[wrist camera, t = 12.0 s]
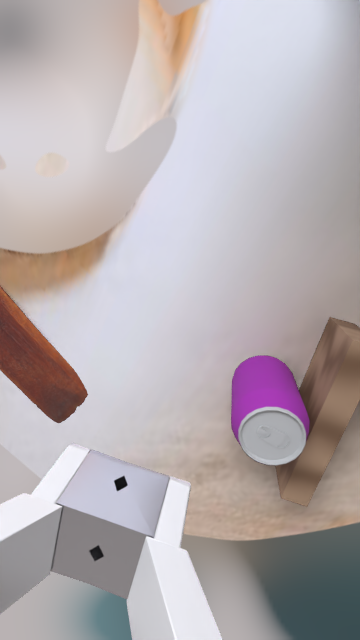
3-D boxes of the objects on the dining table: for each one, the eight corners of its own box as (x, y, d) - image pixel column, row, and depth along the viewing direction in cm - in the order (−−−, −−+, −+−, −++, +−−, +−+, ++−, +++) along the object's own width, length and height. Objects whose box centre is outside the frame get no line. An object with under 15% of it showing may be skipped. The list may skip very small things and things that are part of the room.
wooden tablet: (-68, 290, 47) (-78, 293, 45) (-28, 247, 44) (-38, 248, 42) (54, 426, 50) (48, 433, 49) (99, 395, 47) (95, 400, 46)
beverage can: (222, 390, 43) (217, 450, 32) (248, 342, 41) (253, 388, 29) (274, 415, 43) (288, 484, 32) (304, 368, 41) (331, 425, 29)
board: (329, 317, 38) (352, 339, 31) (355, 324, 38) (384, 349, 31) (273, 451, 45) (280, 498, 37) (294, 458, 44) (306, 506, 37)
